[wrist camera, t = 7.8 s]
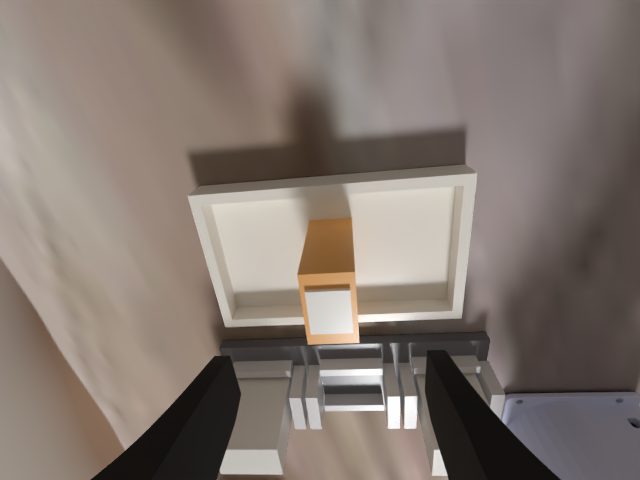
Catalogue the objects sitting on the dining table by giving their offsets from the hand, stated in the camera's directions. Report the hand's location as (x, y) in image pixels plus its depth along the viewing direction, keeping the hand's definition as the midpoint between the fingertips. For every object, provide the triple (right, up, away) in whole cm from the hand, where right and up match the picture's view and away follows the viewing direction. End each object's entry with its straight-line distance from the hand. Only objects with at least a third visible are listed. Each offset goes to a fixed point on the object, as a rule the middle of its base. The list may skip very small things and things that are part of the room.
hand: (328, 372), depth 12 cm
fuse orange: (+1, +4, +8) cm, 9 cm away
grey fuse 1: (-4, -6, +13) cm, 15 cm away
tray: (+1, +4, +9) cm, 10 cm away
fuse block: (+2, -5, +14) cm, 15 cm away
